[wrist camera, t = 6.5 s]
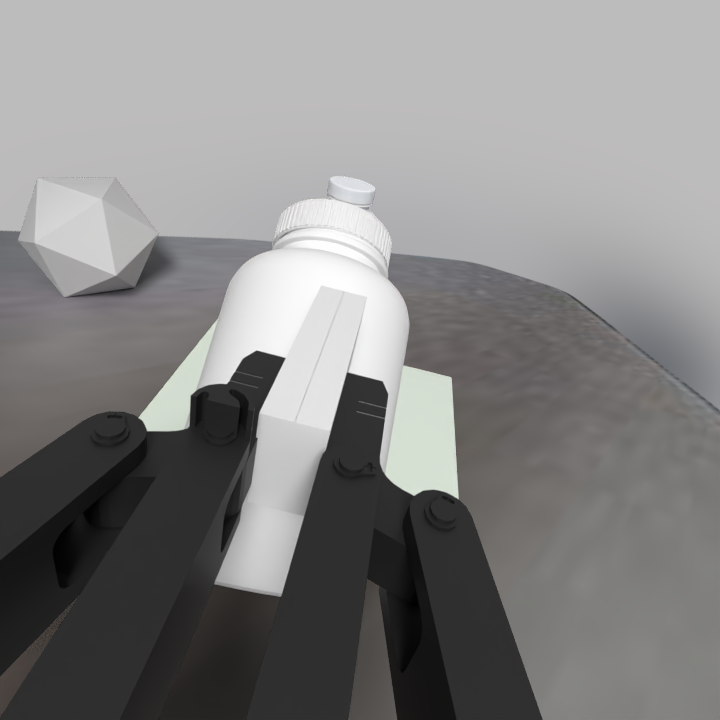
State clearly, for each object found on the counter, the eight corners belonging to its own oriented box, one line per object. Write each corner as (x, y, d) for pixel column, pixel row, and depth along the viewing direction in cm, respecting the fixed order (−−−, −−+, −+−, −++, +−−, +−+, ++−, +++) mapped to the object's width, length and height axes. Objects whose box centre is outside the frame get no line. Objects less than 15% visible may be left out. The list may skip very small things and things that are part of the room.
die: (134, 263, 45) (49, 163, 39) (199, 248, 40) (112, 132, 34) (70, 326, 40) (-38, 223, 34) (135, 318, 35) (22, 197, 29)
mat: (458, 567, 24) (462, 561, 24) (96, 478, 24) (95, 471, 24) (449, 382, 38) (451, 377, 38) (217, 325, 38) (217, 319, 37)
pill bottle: (88, 553, 17) (217, 187, 22) (235, 565, 23) (307, 283, 28) (290, 610, 13) (387, 159, 18) (394, 604, 20) (443, 275, 25)
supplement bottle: (352, 306, 45) (377, 198, 40) (296, 288, 46) (313, 180, 40) (365, 284, 50) (389, 185, 44) (314, 269, 50) (331, 169, 45)
